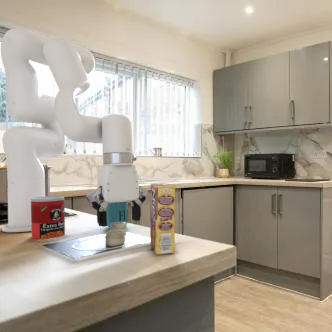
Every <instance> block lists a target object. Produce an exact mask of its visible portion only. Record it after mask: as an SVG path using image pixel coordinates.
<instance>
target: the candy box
mask: <svg viewBox="0 0 332 332" xmlns="http://www.w3.org/2000/svg"><path fill="white" fill-rule="evenodd" d="M149 205H150V206H149V207H150V212H149V213H150V219H149V220H150V225H149V226H150V228H149V229H150V230H149V231H150V232H149V233H150V234H149V235H150V237H149V238H150V242H149V243H150V246H151V247H152V248H151V249H152V250H153V252H154V253H155V255H169V254H174V253H175V237H176V236H175V235H176V234H175V233H176V232H175V229H176V226H175V225H176V224H175V223H176V185H175V184H173V183H172V184H171V183H167V182H155V183H150V204H149Z"/></svg>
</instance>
